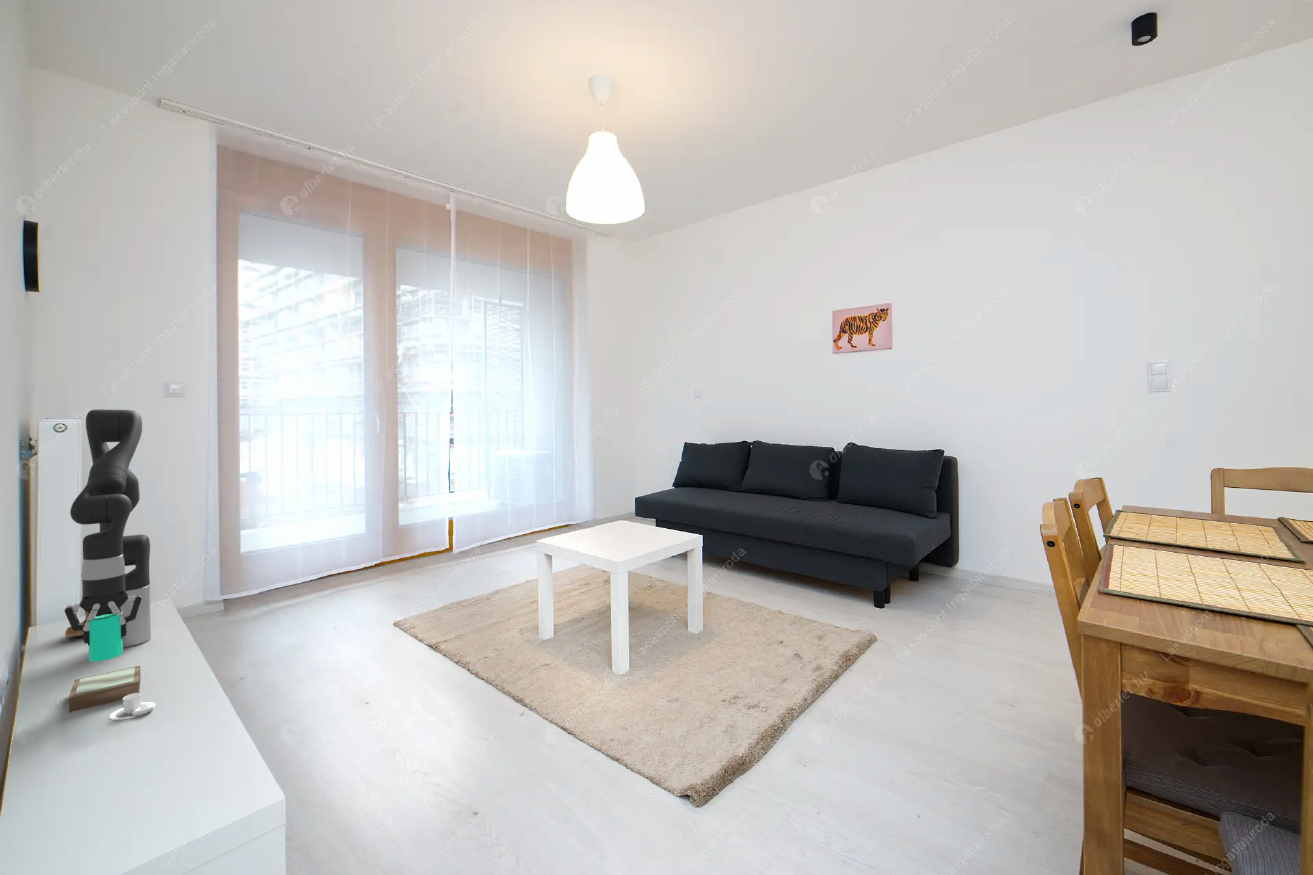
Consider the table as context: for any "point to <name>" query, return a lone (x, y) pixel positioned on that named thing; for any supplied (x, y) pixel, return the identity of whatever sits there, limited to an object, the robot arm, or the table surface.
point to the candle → (105, 638)
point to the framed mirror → (104, 688)
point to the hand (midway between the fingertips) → (105, 640)
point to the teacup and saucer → (133, 706)
